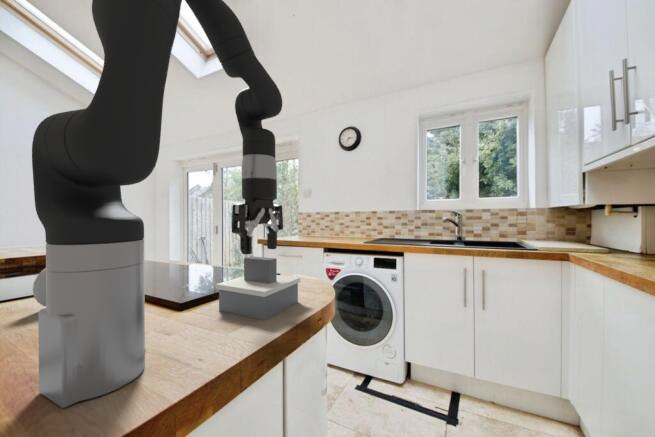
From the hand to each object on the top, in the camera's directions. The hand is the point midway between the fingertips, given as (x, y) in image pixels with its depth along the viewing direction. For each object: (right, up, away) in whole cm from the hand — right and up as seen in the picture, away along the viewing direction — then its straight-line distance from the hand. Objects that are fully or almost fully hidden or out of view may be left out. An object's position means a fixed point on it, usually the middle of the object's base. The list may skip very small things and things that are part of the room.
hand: (260, 251), depth 59 cm
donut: (-45, -13, +1) cm, 47 cm away
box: (0, -13, 0) cm, 13 cm away
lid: (0, -8, 0) cm, 8 cm away
